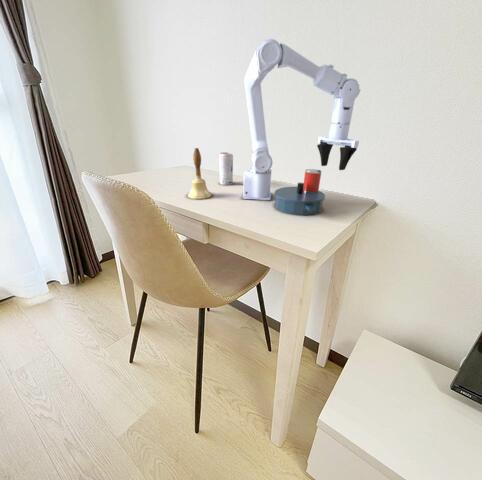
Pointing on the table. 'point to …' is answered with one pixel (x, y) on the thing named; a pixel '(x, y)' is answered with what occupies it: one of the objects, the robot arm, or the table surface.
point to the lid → (299, 194)
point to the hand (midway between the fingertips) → (332, 167)
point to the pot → (298, 207)
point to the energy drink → (226, 168)
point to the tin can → (311, 180)
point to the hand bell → (198, 180)
